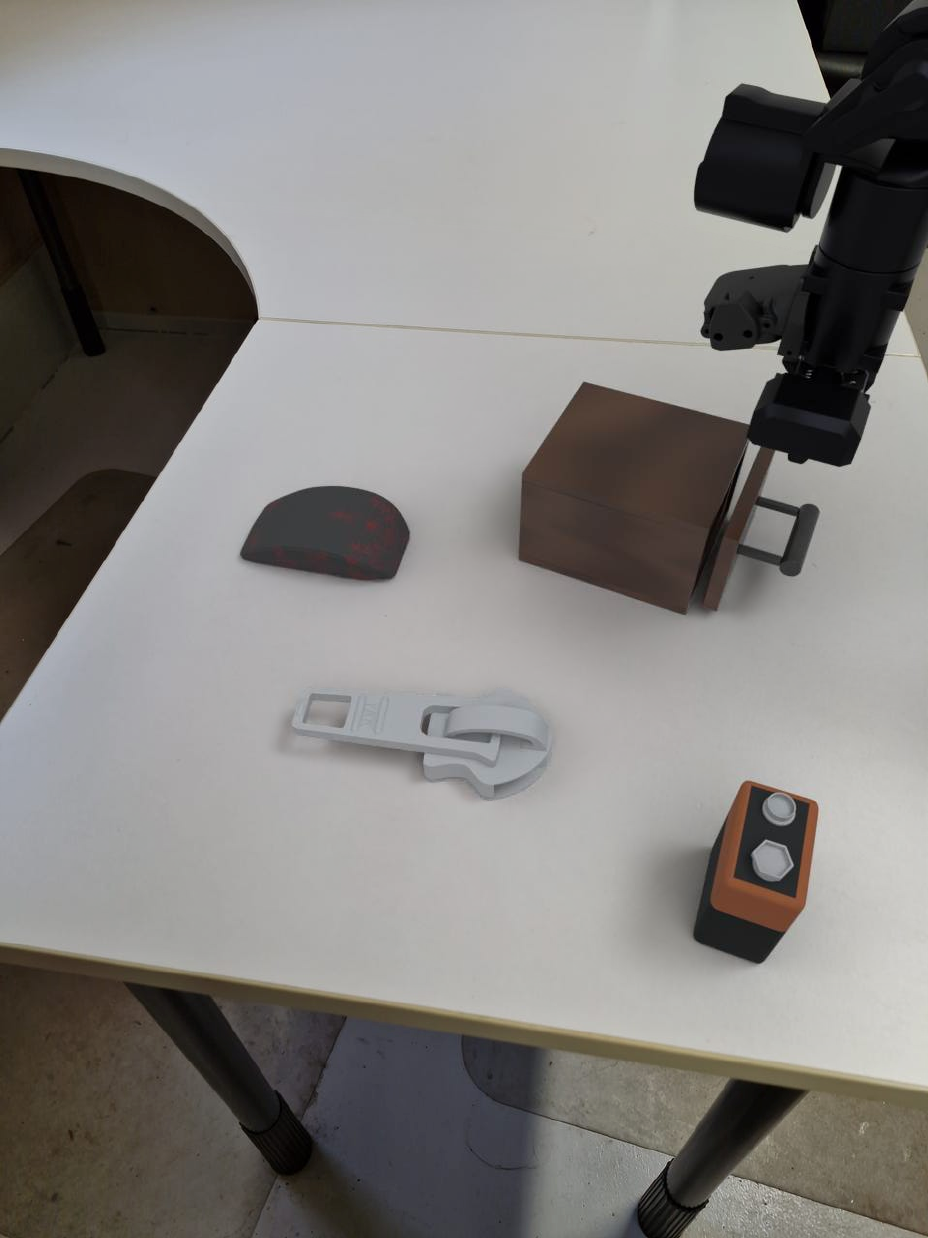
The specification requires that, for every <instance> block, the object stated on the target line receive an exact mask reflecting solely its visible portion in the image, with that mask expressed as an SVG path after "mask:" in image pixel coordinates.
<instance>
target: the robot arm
mask: <svg viewBox="0 0 928 1238" xmlns="http://www.w3.org/2000/svg"><path fill="white" fill-rule="evenodd" d="M879 33H880V34H879V35H878V37H877V38H876V39H875V40H874V43H872V45H871V47H870V49H868V52H867V54H866V57H865V60H864V62H863V63H864V64H863V67H862V70H861V75H860V76H859V77H858V78H853V77H852V78H849V80H848V81H847V82H846V83H844V85H843V86H842V87H840V89H839V90H838V91H837V92H836V93H835V94H834V95H833V96H832V97H831V98H830V99H829V101H827V102H821V101H817V100H811V99H805V98H801V97H796V96H790V95H785V94H779V93H775V92H772V91H770V90H768V89H766V88H764V87H763V86H758V85H753V84H750V83H749V84H748V83H743V82H741V83H740V84H738V85H737V86H736V87H735V88H734V89H732V91H730V92H729V93H728V94H727V95H726V96H725V97H724V101H723V107H722V112H721V117H720V118H719V119H718V121H717V124H716V126H715V128H714V129H713V132H712V134H711V137H710V138H709V142H708V144H707V147H706V150H705V153H704V155H703V156H704V157H703V160H702V161H700V163H699V164H698V165H697V169H696V175H695V180H694V187H693V204H694V208H695V210H696V211H697V212H700V213H704V214H709V215H712V216H717V217H720V218H725V219H728V220H732V221H736V222H739V223H740V222H741V223H744V224H747V225H748V224H749V225H752V226H757V227H762V228H765V229H769V230H772V231H777V232H782V233H785V234H788V233H790V232H791V231H792V230H793V229H794V228H795V226H796V224H797V223H798V221H799V219H800V217H802V218H805V219H809V220H813V219H814V218H815V217H816V216H817V215H818V213H819V211H820V209H821V208H822V206H823V204H824V202H825V199H826V196H827V194H828V193H829V189H830V187H831V184H832V182H833V178H834V176H835V173H836V168H837V166H839V167H841V168H840V172H839V175H838V177H837V181H836V185H835V187H834V192H833V194H832V197H831V201H830V205H829V208H828V211H827V215H826V218H825V221H824V225H823V228H822V231H821V234H820V237H819V241H818V244H815V245H814V247H813V249H812V252H811V254H810V258H809V261H808V263H806V264H804V263H803V264H774V265H767V266H759V267H754V268H753V267H752V268H745V269H738V270H732V271H729V272H728V271H727V272H725V273H723V274H722V275H719V276H718V277H717V278H716V280H715V281H714V283H713V285H712V286H711V288H710V290H709V291H708V293H707V295H706V296H705V298H704V300H703V307H704V310H703V312H702V313H703V324H702V326H701V328H700V331H699V332H700V335H701V337H702V338H704V339H709V343H710V347H711V349H712V350H714V351H718V352H730V351H739V350H741V351H742V350H751V349H753V348H754V347H755V346H756V345H767V344H774V343H777V342H779V341H780V342H779V346H778V350H777V352H776V355H777V356H781V357H782V360H781V364H782V366H783V367H784V369H785V372H784V373H780V372H776V373H775V375H774V377H773V378H771V379H769V380H767V381H766V382H765V384H764V387H763V389H762V391H761V393H760V396H759V398H758V400H757V402H756V405H755V407H754V410H753V411H752V415H751V418H750V421H749V429H748V432H747V435H746V437H747V438H748V439H749V440H750V442H749V443H751V444H752V445H753V446H758V447H760V446H761V447H765V448H769V449H772V450H776V451H777V452H780V453H784V454H787V460H788V462H790V463H794V464H798V465H803V464H805V463H806V462H807V461H809V460H811V461H814V462H818V463H822V464H825V465H829V466H833V467H837V468H843V467H846V466H849V465H852V463H853V460H854V459H855V455H856V453H857V451H858V448H859V447H860V444H861V441H862V439H863V435H864V432H865V429H866V425H867V422H868V419H869V416H870V413H871V409H872V405H871V404H870V402H869V400H870V398H871V394H869V393H868V391H869V390H870V389H871V387H873V385H874V384H875V381H876V379H877V375H878V374H879V371H880V369H881V366H882V364H883V361H884V359H885V356H886V354H887V353H886V352H887V350H888V346H889V342H890V339H891V337H892V334H893V332H894V329H895V327H896V325H897V322H898V320H899V317H900V315H901V313H903V312H904V309H905V307H906V305H907V303H908V301H909V298H910V295H911V291H912V288H913V285H914V281H915V279H916V275H917V274H918V273H917V272H918V270H919V267H920V266H921V262H922V260H923V258H924V255H925V252H926V250H927V248H928V0H912V1H911V2H910V3H909V4H908V5H907V6H906V7H904V9H903V10H902V11H901V12H900V13H898V15H897V16H896V17H895V18H894V19H893V20H892V21H891V22H890V23H889V24H888V25H887V26H886V27H885V28H884V29H883V30H882V31H881V32H879ZM776 451H775V452H776Z"/></svg>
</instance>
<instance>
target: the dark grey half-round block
mask: <svg viewBox="0 0 928 1238" xmlns="http://www.w3.org/2000/svg"><path fill="white" fill-rule="evenodd" d="M410 534H411V532H410V528H409V526H408V524H407V522H406V520H405V518H404V516H403V514H402V513H401V511H400V510H399V509H398V508H397V506H396V505H395V504H394V503H392V502H391V500H389V499H387V498H385V497H384V496H383V495H380V494H378V493H377V492H373V491H370V490H367V489H364V488H363V489H362V488H358V487H352V486H345V485H319V486H311V487H307V488H302V489H299V490H296V491H293V492H290V493H288V494H286V495H283V496H281V497H279V498H277V499H275V500H272V501H271V502H269V503H267V504H266V505H265V507H264V508H263V509H262V510H261V512H260V514H259V515H258V517H257V518H256V520H255V522H254V523H253V525H252V527H251V529H250V531H249V533H248V535H247V537H246V538H245V541H244V543H243V545H242V547H241V549H240V552H239V555H240V558H241V559H243V560H246V561H248V562H249V561H250V562H254V563H260V564H265V565H270V566H275V567H276V566H277V567H282V568H287V569H295V570H300V571H306V572H313V573H319V574H325V575H329V576H330V575H331V576H335V577H336V576H337V577H342V578H349V579H356V580H384V579H391V578H394V577H395V576H396V575H397V573H398V570H399V567H400V565H401V562H402V560H403V556H404V554H405V551H406V549H407V547H408V544H409V542H410V537H411V535H410Z"/></svg>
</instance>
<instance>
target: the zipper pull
mask: <svg viewBox="0 0 928 1238" xmlns="http://www.w3.org/2000/svg"><path fill="white" fill-rule="evenodd" d="M314 701H316V702H317V701H318V702H332V703H346V704H349V708H348V712H347V716H346V719H345V723H344V725H343V727H335V726H328V725H321V724H312V723H307V722H308V717H309V714H310V712H311V711H310V710H311V707H312V704H313V702H314ZM428 715H430V719H429V724H428V729H427V734H426V733H424V732H423V731H422V730H423V726H424V725H423V724H424V720H425V718H426V717H427V716H428ZM291 725H292V729H293V732H294V734H295V735H297V736H301V737H307V738H314V739H321V740H329V741H335V742H343V743H351V744H357V745H358V744H359V745H365V746H373V747H379V748H389V749H395V750H403V751H411V752H417V753H424V755H423V761H422V766H423V772H424V773H423V775H424V779H425V781H427V782H429V783H440V782H445V781H454V780H455V781H456V780H457V781H464V782H466V783H468V784H469V785H470V787H471V788H472V789H473V790H474V792H475V793H476V794H477V795H478V797H480V798H482V799H483V800H485V801H495V800H501V799H505V798H508V797H512V796H514V795H516V794H519V793H520V792H523V791H524V790H526V789H528V788H529V787H530V786H532V785H534V783H536V782H537V781H538V780H539V779H540V778H541V777H542V776H543V774H544V773H545V771H546V770H547V768H548V767H549V765H550V762H551V759H552V746H553V742H554V735H553V731H552V728H551V725H550V724H549V722H548V720H547V718H546V717H545V716H544V714H543V713H542V711H540V709H539V708H538V707H537V706H536V705H535V704H533V703H532V702H531V701H530V700H529V699H527V698H525V696H522V695H521V694H519V693H517V692H514V691H512V690H510V689H508V688H505V687H495V688H492V689H490V690H489V691H487V692H486V693H484V694H483V695H481V696H479V698H477V697H476V698H474V697H461V696H455V695H452V694H450V693H448V692H443V691H442V692H438V693H436V694H435V695H433V694H432V695H431V694H415V693H401V692H400V693H399V692H385V691H371V690H358V689H357V690H356V689H343V688H327V687H326V688H325V687H312V686H307V687H304V688H303V689H302V690H301V692H300V694H299V697H298V700H297V704H296V707H295V710H294V713H293V717H292V720H291Z"/></svg>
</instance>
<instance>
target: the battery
mask: <svg viewBox="0 0 928 1238" xmlns="http://www.w3.org/2000/svg"><path fill="white" fill-rule="evenodd" d="M819 809H820V808H819V804H818V803H817V801H815V800H813V799H811V798H808V797H804V796H801V795H798V794H795V793H792V792H790V791H789V792H788V791H786V790H781V789H779V788H776V787H772V786H769V785H766V784H763V783H760V782H756V781H752V780H744V781H743V782H742V783H741V785H740V787H739V789H738V791H737V793H736V795H735V798H734V800H733V802H732V804H731V806H730V808H729V809H728V810H729V811H728V812H727V814H726V816H725V819H724V821H723V823H722V825H721V828H720V830H719V831H718V834H717V836H716V839H715V841H714V843H713V845H712V847H711V850H710V854H709V860H708V863H707V868H706V873H705V877H704V881H703V887H702V891H701V896H700V900H699V905H698V910H697V914H696V917H695V922H694V928H693V932H692V933H693V939H694V940H695V942H697V943H699V944H701V945H705V946H707V947H710V948H712V949H715V950H717V951H721V952H724V953H727V954H728V955H732V956H735V957H737V958H741V959H743V960H745V961H748V962H751V963H754V964H758V965H761V964H763V963H764V962H765V961H766V960H767V959H768V957H769V956H770V955H771V953H772V952H773V951H774V949H775V948H776V946H777V945H778V944H779V943H780V941H781V940H782V939H783V937H784V936H785V934H786V933H787V932H788V931H789V929H790V928H791V927H792V925H793V924H794V922H796V920H797V918H798V917H799V916H800V914H801V913H802V912H803V910H804V909H805V907H806V904H807V898H808V892H809V885H810V879H811V878H810V876H811V871H812V870H811V869H812V862H813V856H814V848H815V841H816V840H815V839H816V834H817V826H818V820H819V811H820V810H819Z"/></svg>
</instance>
